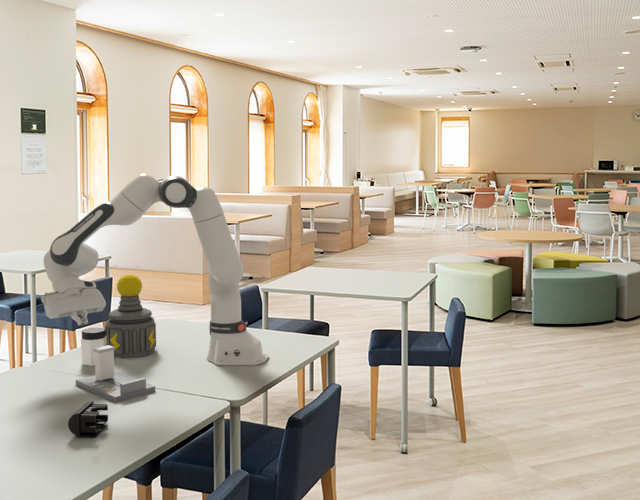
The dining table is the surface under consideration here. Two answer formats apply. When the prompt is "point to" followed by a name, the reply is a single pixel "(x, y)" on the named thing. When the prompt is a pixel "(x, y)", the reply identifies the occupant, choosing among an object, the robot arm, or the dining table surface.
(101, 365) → the fader tab
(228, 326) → the robot arm
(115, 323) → the decorative lamp
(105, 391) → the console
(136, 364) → the dining table surface
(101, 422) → the end cap
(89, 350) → the jar
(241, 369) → the dining table surface
